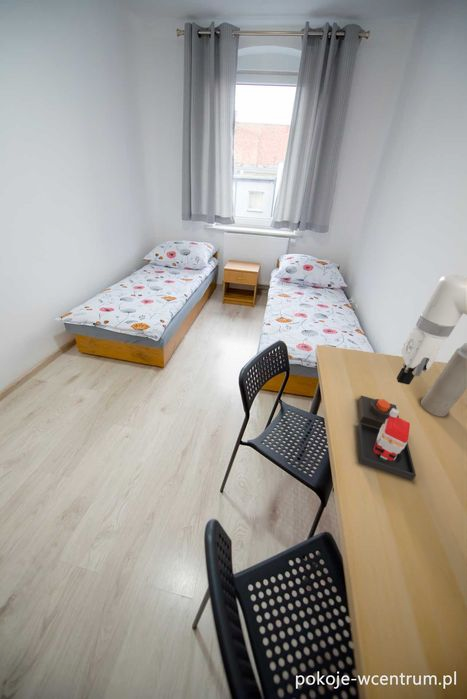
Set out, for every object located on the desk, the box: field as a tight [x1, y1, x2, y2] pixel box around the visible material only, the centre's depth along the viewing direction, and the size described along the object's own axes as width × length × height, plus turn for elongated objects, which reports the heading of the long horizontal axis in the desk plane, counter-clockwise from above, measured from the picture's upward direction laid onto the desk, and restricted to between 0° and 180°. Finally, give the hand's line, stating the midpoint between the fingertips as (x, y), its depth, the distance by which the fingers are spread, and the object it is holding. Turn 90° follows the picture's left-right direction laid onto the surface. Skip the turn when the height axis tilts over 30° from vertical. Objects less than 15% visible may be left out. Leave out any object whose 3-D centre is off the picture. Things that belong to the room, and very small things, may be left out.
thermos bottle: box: [420, 342, 467, 417], centre depth 87 cm, size 8×8×28 cm
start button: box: [376, 399, 391, 412], centre depth 86 cm, size 4×4×2 cm
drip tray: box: [356, 422, 417, 481], centre depth 77 cm, size 13×13×2 cm
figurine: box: [373, 408, 411, 462], centre depth 73 cm, size 8×7×12 cm
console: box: [357, 395, 400, 428], centre depth 87 cm, size 11×10×4 cm
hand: (402, 381), depth 79 cm, fingers closed
